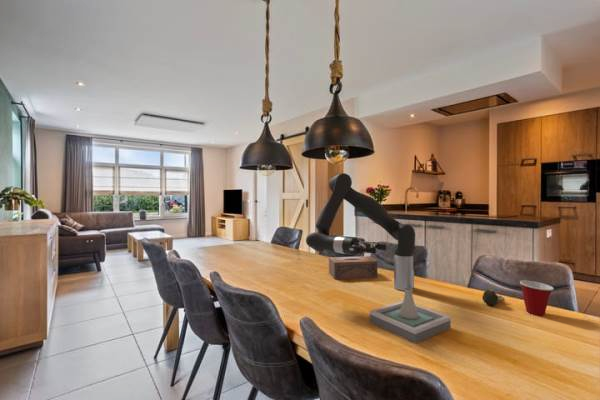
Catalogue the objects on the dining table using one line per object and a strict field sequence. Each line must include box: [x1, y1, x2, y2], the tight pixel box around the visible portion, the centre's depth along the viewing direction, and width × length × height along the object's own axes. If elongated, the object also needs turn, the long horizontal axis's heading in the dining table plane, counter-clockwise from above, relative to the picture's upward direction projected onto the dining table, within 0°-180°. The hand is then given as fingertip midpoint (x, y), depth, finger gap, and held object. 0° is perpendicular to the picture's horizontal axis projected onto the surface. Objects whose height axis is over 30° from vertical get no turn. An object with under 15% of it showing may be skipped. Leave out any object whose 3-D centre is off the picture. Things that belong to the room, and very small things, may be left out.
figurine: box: [481, 289, 505, 307], centre depth 133 cm, size 8×6×15 cm
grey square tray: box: [369, 300, 452, 344], centre depth 110 cm, size 20×20×4 cm
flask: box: [398, 288, 419, 319], centre depth 110 cm, size 7×7×10 cm
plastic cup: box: [519, 280, 554, 317], centre depth 120 cm, size 11×11×12 cm
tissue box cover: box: [328, 255, 378, 280], centre depth 181 cm, size 26×14×10 cm, turn 97°
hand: (381, 249), depth 117 cm, fingers open, 8 cm apart
